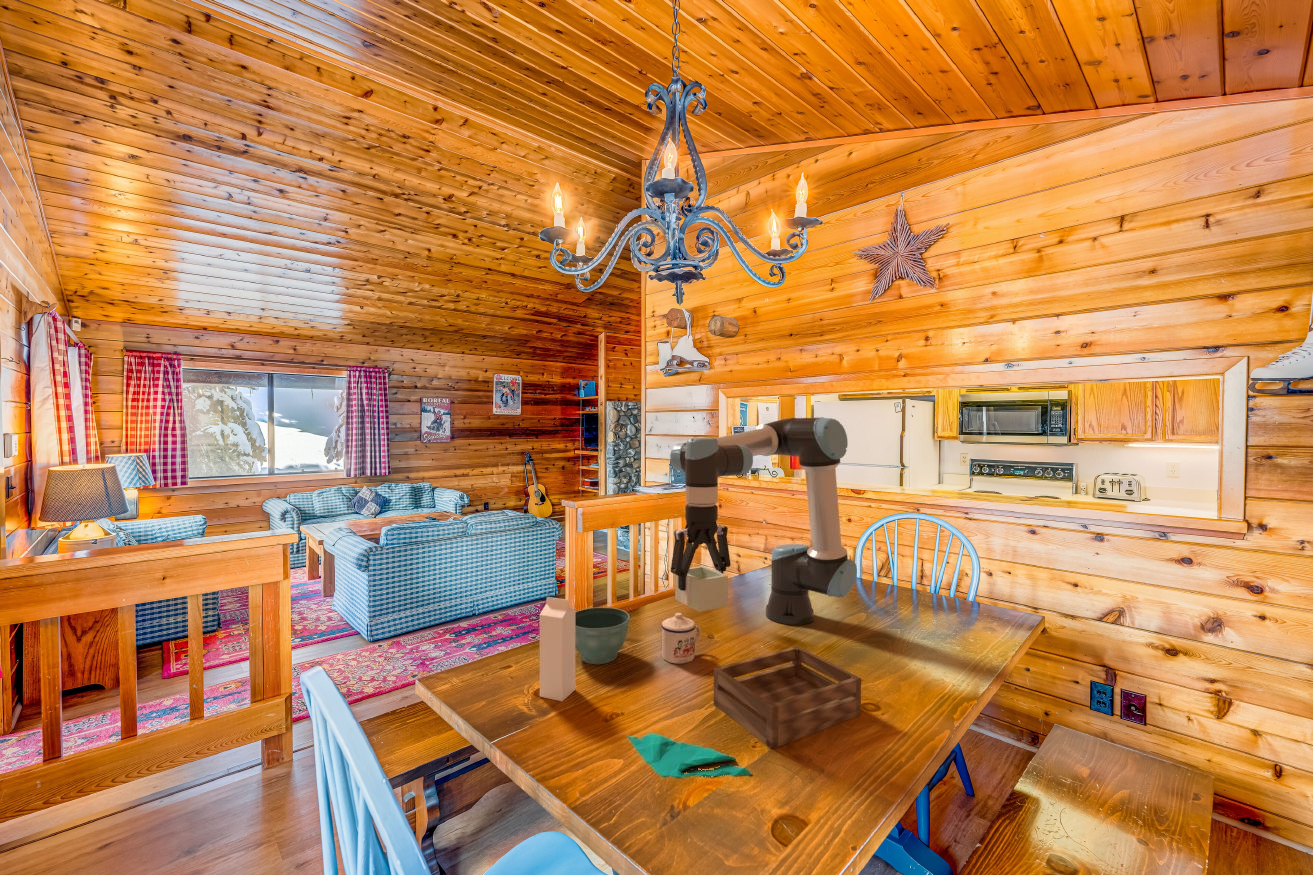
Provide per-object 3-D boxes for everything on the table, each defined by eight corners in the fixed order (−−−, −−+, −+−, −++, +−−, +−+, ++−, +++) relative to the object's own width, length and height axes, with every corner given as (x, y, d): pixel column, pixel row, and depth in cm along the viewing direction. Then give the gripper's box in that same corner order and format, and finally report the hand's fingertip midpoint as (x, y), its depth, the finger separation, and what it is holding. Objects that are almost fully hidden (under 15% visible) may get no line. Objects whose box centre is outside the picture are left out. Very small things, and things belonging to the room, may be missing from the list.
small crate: (702, 593, 133) (703, 565, 133) (727, 605, 125) (727, 575, 124) (675, 599, 129) (675, 569, 129) (698, 611, 121) (698, 580, 120)
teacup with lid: (675, 667, 138) (675, 622, 138) (654, 655, 145) (654, 612, 145) (710, 656, 145) (711, 613, 145) (689, 644, 152) (689, 603, 152)
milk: (553, 685, 129) (553, 592, 128) (575, 689, 126) (576, 595, 126) (539, 697, 123) (539, 600, 122) (562, 702, 121) (562, 603, 120)
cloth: (606, 751, 104) (606, 739, 104) (651, 720, 115) (651, 710, 115) (722, 813, 88) (722, 799, 88) (762, 770, 98) (762, 758, 98)
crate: (796, 678, 133) (797, 645, 132) (860, 714, 116) (861, 677, 116) (713, 704, 120) (713, 668, 120) (771, 749, 104) (772, 707, 103)
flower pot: (556, 656, 144) (556, 616, 144) (603, 639, 155) (603, 602, 155) (593, 677, 132) (593, 633, 132) (641, 657, 144) (642, 617, 144)
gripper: (727, 498, 135) (727, 589, 135) (654, 505, 124) (654, 603, 125) (746, 502, 128) (746, 597, 129) (671, 509, 118) (671, 613, 119)
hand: (701, 600), depth 127 cm, fingers closed on small crate, 8 cm apart
